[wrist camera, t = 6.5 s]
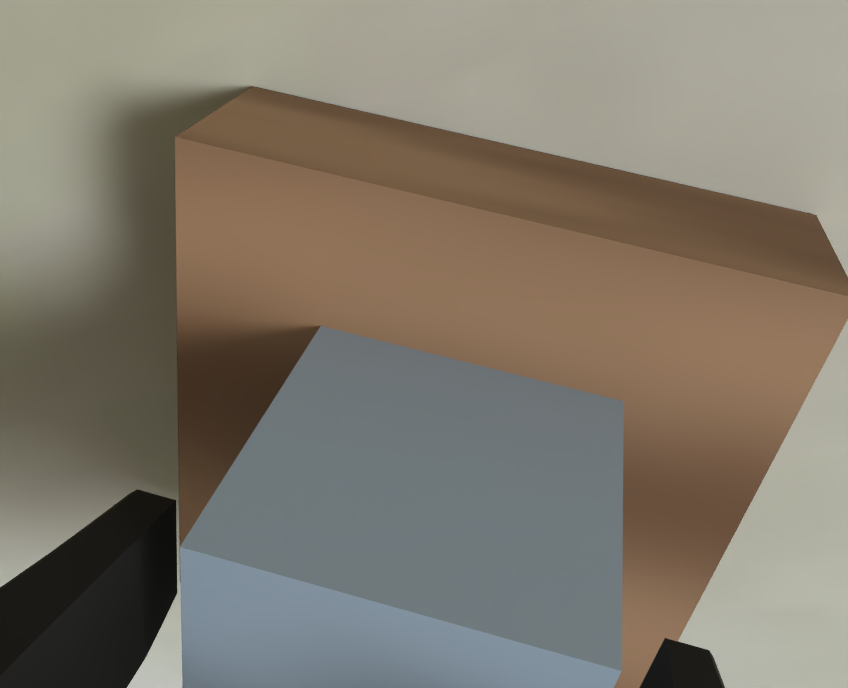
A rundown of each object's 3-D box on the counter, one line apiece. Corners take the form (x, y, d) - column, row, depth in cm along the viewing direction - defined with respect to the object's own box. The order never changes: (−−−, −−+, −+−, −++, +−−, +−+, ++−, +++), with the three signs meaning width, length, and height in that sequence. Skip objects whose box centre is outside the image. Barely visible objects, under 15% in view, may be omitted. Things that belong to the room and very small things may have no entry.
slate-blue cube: (549, 606, 16) (520, 887, 11) (300, 537, 16) (185, 782, 12) (623, 401, 13) (621, 671, 9) (321, 325, 13) (180, 547, 9)
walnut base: (636, 601, 19) (638, 715, 17) (235, 490, 20) (180, 582, 18) (816, 215, 14) (857, 298, 11) (252, 86, 15) (175, 137, 12)
